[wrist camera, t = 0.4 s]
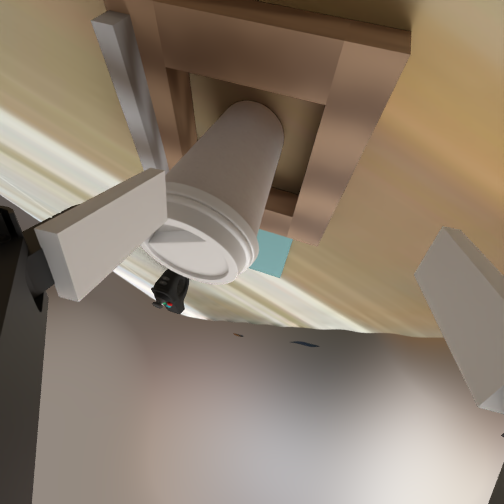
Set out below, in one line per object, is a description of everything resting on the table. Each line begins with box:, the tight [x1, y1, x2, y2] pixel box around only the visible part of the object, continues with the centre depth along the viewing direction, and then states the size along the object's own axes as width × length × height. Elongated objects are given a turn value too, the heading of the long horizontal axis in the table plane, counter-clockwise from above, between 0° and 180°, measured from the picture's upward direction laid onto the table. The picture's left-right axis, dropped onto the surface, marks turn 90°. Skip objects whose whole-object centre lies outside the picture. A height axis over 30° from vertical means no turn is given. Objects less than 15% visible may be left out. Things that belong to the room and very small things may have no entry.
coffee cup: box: [140, 101, 284, 284], centre depth 23 cm, size 10×10×15 cm
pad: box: [249, 229, 293, 278], centre depth 43 cm, size 14×14×1 cm
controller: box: [151, 269, 189, 314], centre depth 59 cm, size 4×12×10 cm, turn 2°
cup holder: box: [91, 0, 411, 246], centre depth 25 cm, size 20×20×6 cm
